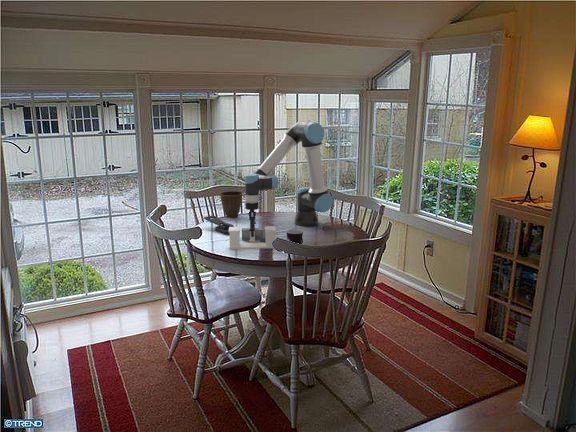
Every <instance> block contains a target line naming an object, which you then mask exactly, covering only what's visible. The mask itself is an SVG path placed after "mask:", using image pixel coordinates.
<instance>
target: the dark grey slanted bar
mask: <svg viewBox="0 0 576 432" xmlns="http://www.w3.org/2000/svg"><path fill="white" fill-rule="evenodd" d="M203 219H204V220H206V221H208V222H210V223H212V224H214V225H216V226H215V227H214V230H215V232H217V233H220V234H221V235H225V236H230V233H229V227H235V225H234V224H232V223H230V222H229V223H228V222H225V221H224V220H222V219H221V218H219V217H218V216H215V215H214V214H213V215H207V216H204V217H203Z"/></svg>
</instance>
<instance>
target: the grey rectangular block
mask: <svg viewBox="0 0 576 432" xmlns="http://www.w3.org/2000/svg"><path fill="white" fill-rule="evenodd" d="M251 229H254V228H251ZM249 230H250V227H248V228H247V227H245V228H244V227H242V228H241V241H250V231H249ZM255 241H264V228H263V227H255Z"/></svg>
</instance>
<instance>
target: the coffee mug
mask: <svg viewBox="0 0 576 432" xmlns="http://www.w3.org/2000/svg"><path fill="white" fill-rule="evenodd" d="M303 233H304V231H303V230H302V229H296V228H295V229H289V230H286V240H289V241H292V242H295V243H299V244H302V245H303V242H304V238H303Z"/></svg>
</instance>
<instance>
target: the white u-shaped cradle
mask: <svg viewBox="0 0 576 432" xmlns="http://www.w3.org/2000/svg"><path fill="white" fill-rule="evenodd" d="M240 231H241V226H234V227H229V233H230V235H229V249H230V250H241V249H242V250H249V249H253V250H254V249H256V250H257V249H259V250H260V249H274V248H273V247H272V242H273V240H274V239H275V240H276V233H277V229H276V225H275V226H274V225H273V226H271V225H269V226H268V225H264V232H265V237H264V238H265V242H241V235H240V234H241V232H240Z"/></svg>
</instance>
